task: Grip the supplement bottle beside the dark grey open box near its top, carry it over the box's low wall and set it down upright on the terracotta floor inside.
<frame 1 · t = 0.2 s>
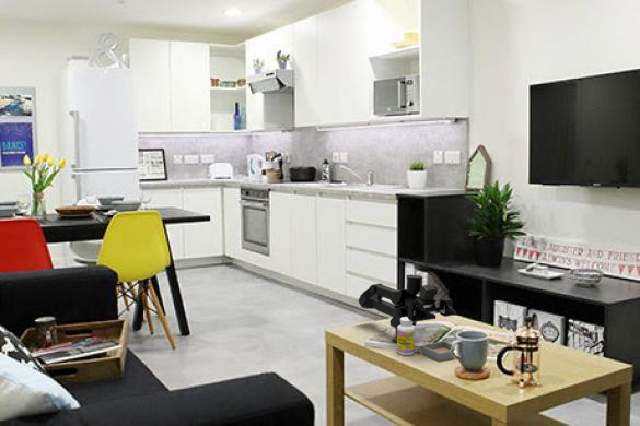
hand: (445, 315, 238), 16 cm above the table, tool horizontal, fingers open, 9 cm apart
supplement bottle: (406, 353, 250), on the table
walled box: (441, 355, 246), on the table
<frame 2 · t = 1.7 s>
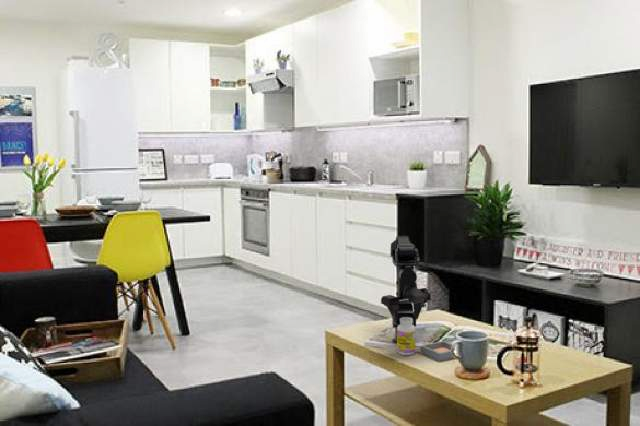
hand: (406, 321, 248), 12 cm above the table, tool pointing down, fingers open, 9 cm apart
nothing on the table moved.
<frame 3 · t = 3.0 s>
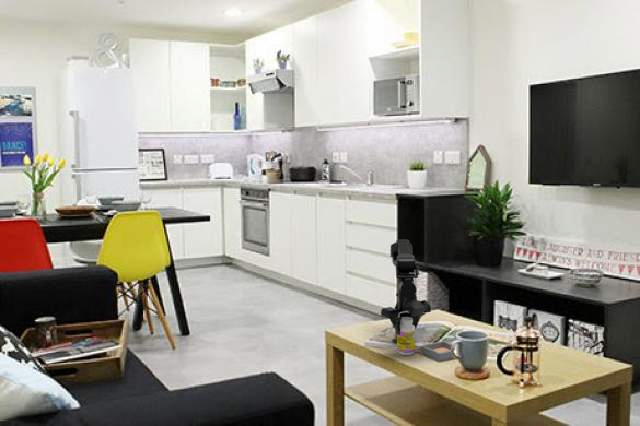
hand: (406, 332, 249), 8 cm above the table, tool pointing down, fingers closed on supplement bottle, 7 cm apart
supplement bottle: (406, 353, 250), on the table, touching gripper
when the fingers open (10 cm above the table, at t = 6.7 s): supplement bottle drops 1 cm, resting on walled box.
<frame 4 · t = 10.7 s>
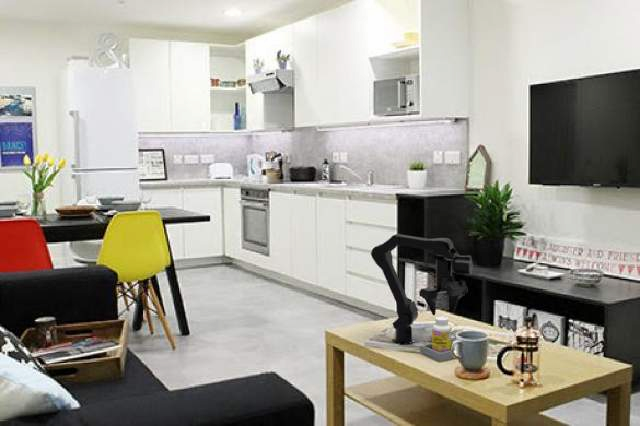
hand: (443, 313, 254), 13 cm above the table, tool pointing down, fingers open, 9 cm apart
supplement bottle: (441, 353, 246), point 1 cm above the table, touching walled box
at the end: supplement bottle 0.1 cm off-centre on the walled box, point 0.8 cm above the walled box's base; supplement bottle tilted 0°; the gripper is holding nothing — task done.
